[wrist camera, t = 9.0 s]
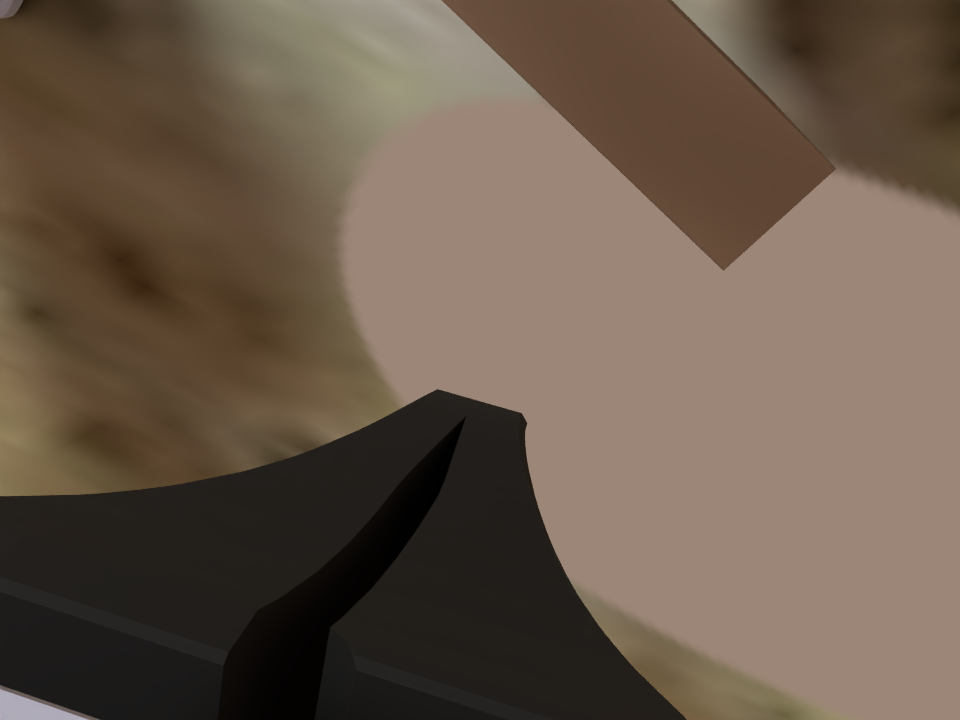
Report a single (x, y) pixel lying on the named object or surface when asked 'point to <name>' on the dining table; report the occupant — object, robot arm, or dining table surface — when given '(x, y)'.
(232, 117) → the dining table surface
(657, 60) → the domino
